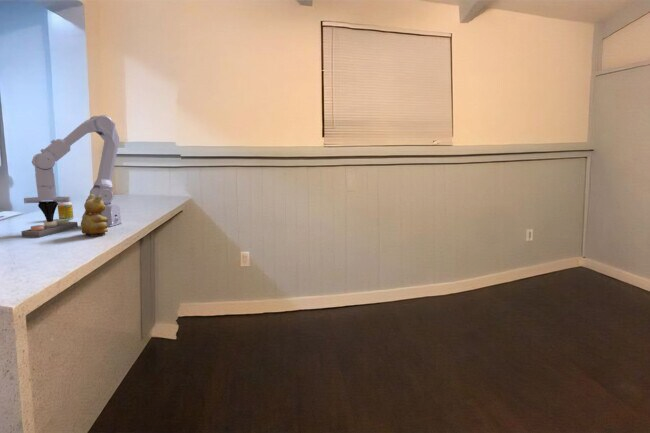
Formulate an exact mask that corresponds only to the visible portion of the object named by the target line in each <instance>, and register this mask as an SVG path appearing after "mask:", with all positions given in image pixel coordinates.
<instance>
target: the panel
mask: <svg viewBox="0 0 650 433" xmlns="http://www.w3.org/2000/svg"><path fill="white" fill-rule="evenodd" d="M75 227H76V228H78V227H79V225H78V221H69V224H65V225H58V224H57V227H52V228H45V227H44V230H42V231H31V228H30V229H29V228H28V229H26V230H25V229H24V230H21V231H20V232H21V237H22V238H43V237H46V236H49V235H53V234H57V233H58V234H59V233H60V232H64V231H68V230H72V229H75Z"/></svg>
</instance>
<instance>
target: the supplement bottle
mask: <svg viewBox="0 0 650 433" xmlns="http://www.w3.org/2000/svg"><path fill="white" fill-rule="evenodd" d="M57 203H58V205H57V212H58V213H57V214H58V220H61V219H69V221H70V220H73V219H74V211H73V208H74V207H73V203H72V202H57Z"/></svg>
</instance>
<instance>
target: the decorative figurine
mask: <svg viewBox="0 0 650 433" xmlns="http://www.w3.org/2000/svg"><path fill="white" fill-rule="evenodd" d="M101 198H102V197H101V195H99V196H97V197H96V198H95V196H94V194H91V195H90V194H89V195H88V196H87V198H86V200H85V203H84V206H83V207H84V213H83V215H81V216H82V217H81V221H80V230H81V234H84V235H85V236H87V237H88V236H89V237H98V236H99V237H100V236H104V235H106V233H107V232H108V231H109V230H108V226H107V221H108V219H107V217H104V216H103V215H102V213H101V212H103V211H104V210H105V205H104V202H103V201H101Z"/></svg>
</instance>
